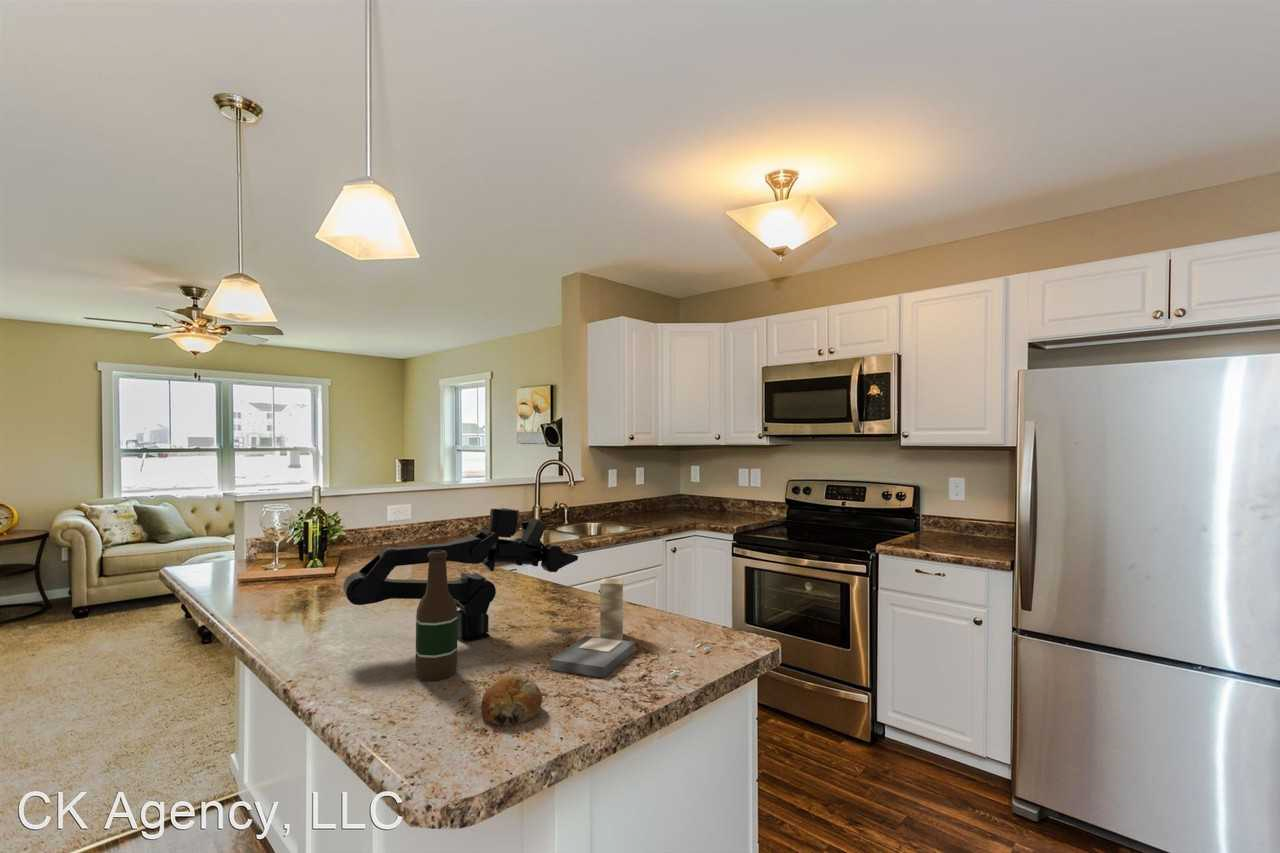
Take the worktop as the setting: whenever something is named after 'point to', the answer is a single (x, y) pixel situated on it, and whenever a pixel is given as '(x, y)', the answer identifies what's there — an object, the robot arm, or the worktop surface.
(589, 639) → the slate plinth
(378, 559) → the robot arm
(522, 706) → the bread roll
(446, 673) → the beer bottle
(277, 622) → the worktop surface
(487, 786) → the worktop surface
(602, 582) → the birch pillar
